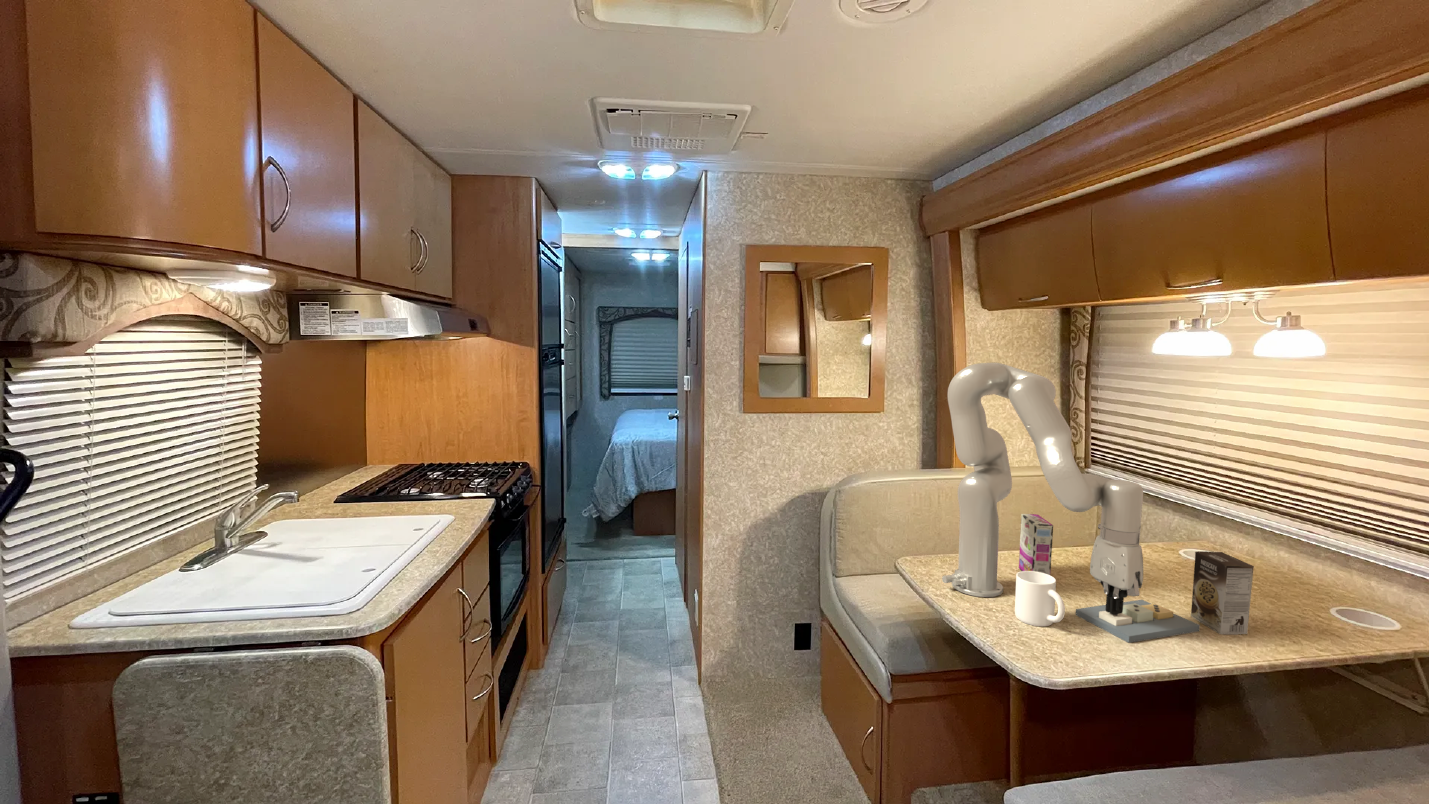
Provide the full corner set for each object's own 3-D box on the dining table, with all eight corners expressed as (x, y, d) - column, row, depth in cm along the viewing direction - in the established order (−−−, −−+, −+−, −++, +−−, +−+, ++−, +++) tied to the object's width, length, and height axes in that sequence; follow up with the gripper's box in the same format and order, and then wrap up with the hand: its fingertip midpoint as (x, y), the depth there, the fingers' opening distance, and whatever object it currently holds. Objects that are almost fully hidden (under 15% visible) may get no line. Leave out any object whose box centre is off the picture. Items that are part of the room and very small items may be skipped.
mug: (1076, 631, 137) (1078, 587, 136) (1048, 637, 134) (1050, 592, 133) (1033, 609, 148) (1035, 568, 147) (1006, 614, 145) (1008, 573, 144)
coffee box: (1189, 616, 143) (1193, 550, 142) (1216, 616, 143) (1221, 550, 142) (1219, 635, 134) (1225, 565, 133) (1249, 635, 134) (1255, 565, 133)
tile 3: (1157, 623, 139) (1158, 613, 139) (1139, 614, 143) (1140, 605, 143) (1172, 620, 140) (1173, 610, 140) (1154, 612, 144) (1155, 602, 144)
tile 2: (1137, 623, 138) (1137, 612, 137) (1119, 614, 142) (1120, 604, 142) (1152, 620, 139) (1153, 610, 138) (1134, 612, 143) (1135, 602, 143)
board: (1128, 642, 131) (1129, 636, 131) (1075, 615, 145) (1075, 609, 144) (1199, 631, 136) (1199, 624, 136) (1141, 605, 150) (1141, 599, 149)
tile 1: (1115, 629, 136) (1116, 619, 136) (1098, 620, 140) (1099, 610, 140) (1131, 627, 137) (1132, 616, 137) (1114, 618, 142) (1114, 608, 141)
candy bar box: (1051, 584, 163) (1054, 525, 162) (1031, 583, 164) (1034, 524, 162) (1036, 568, 174) (1038, 513, 173) (1017, 568, 175) (1020, 512, 173)
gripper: (1078, 526, 143) (1073, 600, 145) (1136, 547, 129) (1130, 629, 131) (1104, 524, 145) (1099, 597, 147) (1164, 544, 131) (1157, 625, 133)
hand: (1113, 612), depth 139 cm, fingers closed
